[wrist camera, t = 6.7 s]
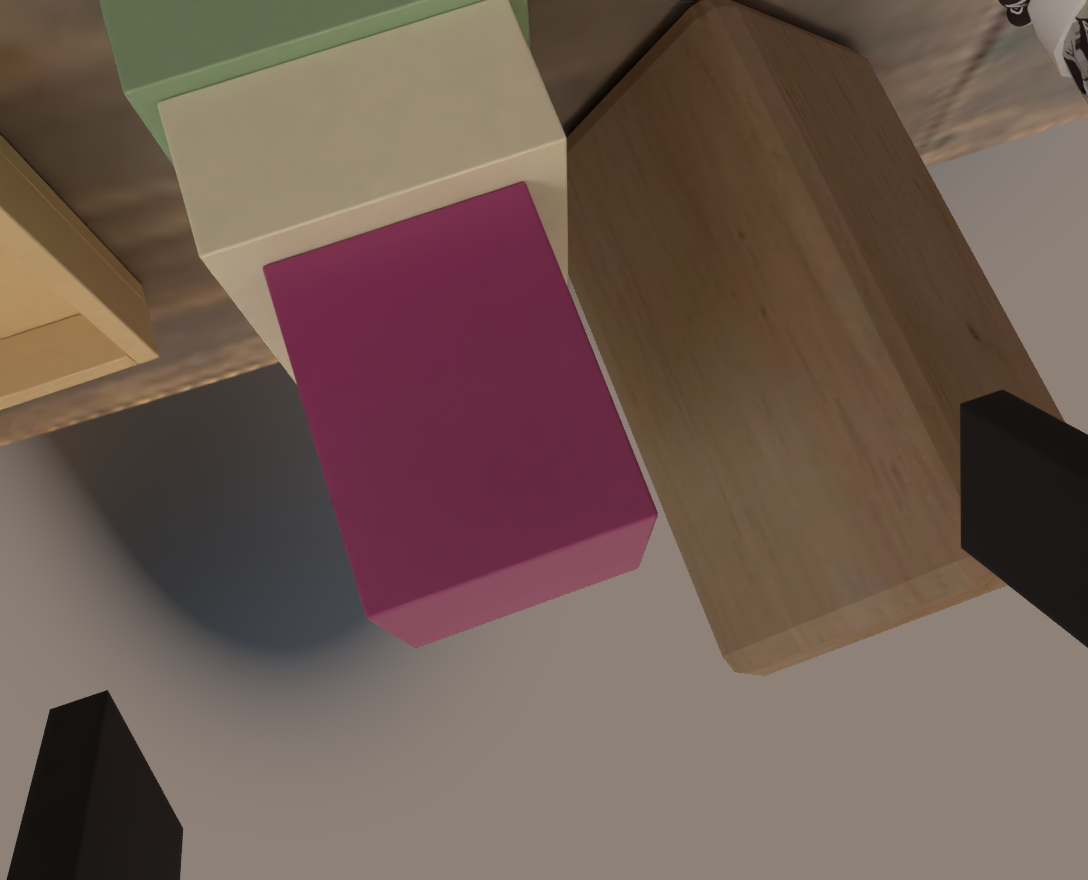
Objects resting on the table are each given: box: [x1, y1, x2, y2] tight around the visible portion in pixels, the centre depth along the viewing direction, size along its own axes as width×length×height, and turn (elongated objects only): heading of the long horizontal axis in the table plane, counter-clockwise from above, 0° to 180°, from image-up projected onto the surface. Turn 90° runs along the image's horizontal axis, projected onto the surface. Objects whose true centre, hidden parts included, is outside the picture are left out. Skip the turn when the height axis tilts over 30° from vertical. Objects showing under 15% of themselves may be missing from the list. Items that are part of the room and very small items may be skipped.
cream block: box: [157, 0, 568, 384], centre depth 25 cm, size 8×8×4 cm
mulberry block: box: [263, 182, 658, 648], centre depth 23 cm, size 6×6×8 cm
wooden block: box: [567, 0, 1065, 676], centre depth 34 cm, size 10×10×20 cm
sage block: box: [99, 0, 531, 166], centre depth 26 cm, size 9×9×4 cm
